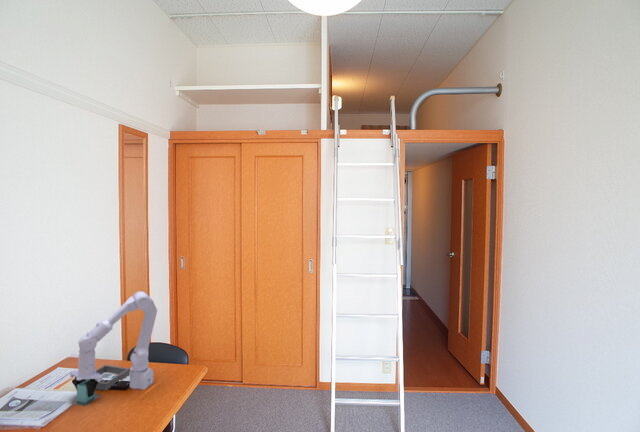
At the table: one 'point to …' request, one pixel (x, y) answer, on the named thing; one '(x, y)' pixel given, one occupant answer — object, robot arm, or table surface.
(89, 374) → the robot arm
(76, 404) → the stud plate
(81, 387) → the socket block
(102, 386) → the bin
